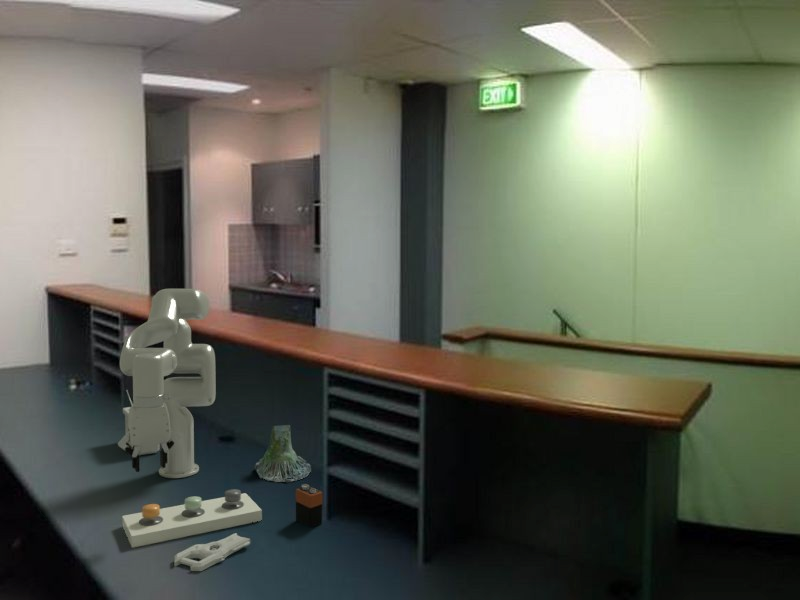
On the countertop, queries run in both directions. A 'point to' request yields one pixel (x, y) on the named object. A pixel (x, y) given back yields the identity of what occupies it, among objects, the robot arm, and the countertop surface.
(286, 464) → the tree stump
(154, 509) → the orange button
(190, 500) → the sage button
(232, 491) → the charcoal button
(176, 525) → the button panel
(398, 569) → the countertop surface
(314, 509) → the battery
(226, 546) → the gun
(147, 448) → the stereo radio cassette player
